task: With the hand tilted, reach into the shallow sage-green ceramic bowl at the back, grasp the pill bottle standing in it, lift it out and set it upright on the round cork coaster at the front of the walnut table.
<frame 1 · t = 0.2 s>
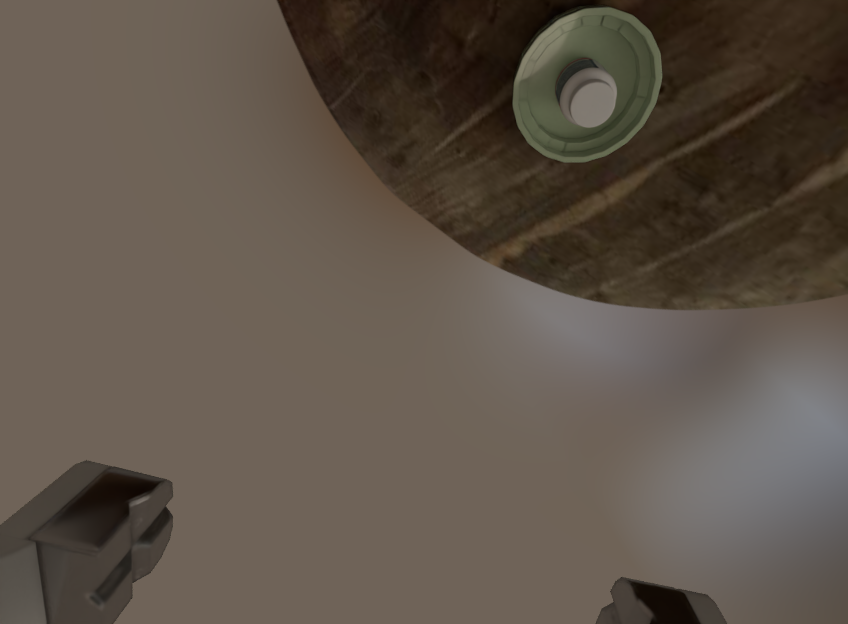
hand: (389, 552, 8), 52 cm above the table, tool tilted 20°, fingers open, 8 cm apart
bowl: (579, 84, 48), on the table
pill bottle: (579, 84, 48), resting on bowl
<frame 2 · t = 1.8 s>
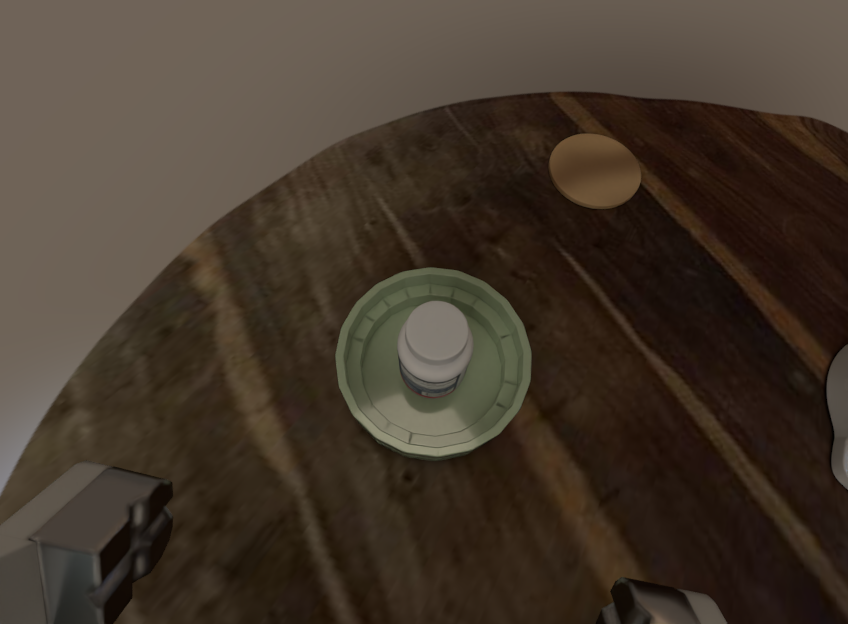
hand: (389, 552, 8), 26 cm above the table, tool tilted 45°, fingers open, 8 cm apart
coaster: (593, 171, 45), on the table
bowl: (431, 368, 36), on the table
pill bottle: (432, 368, 36), resting on bowl
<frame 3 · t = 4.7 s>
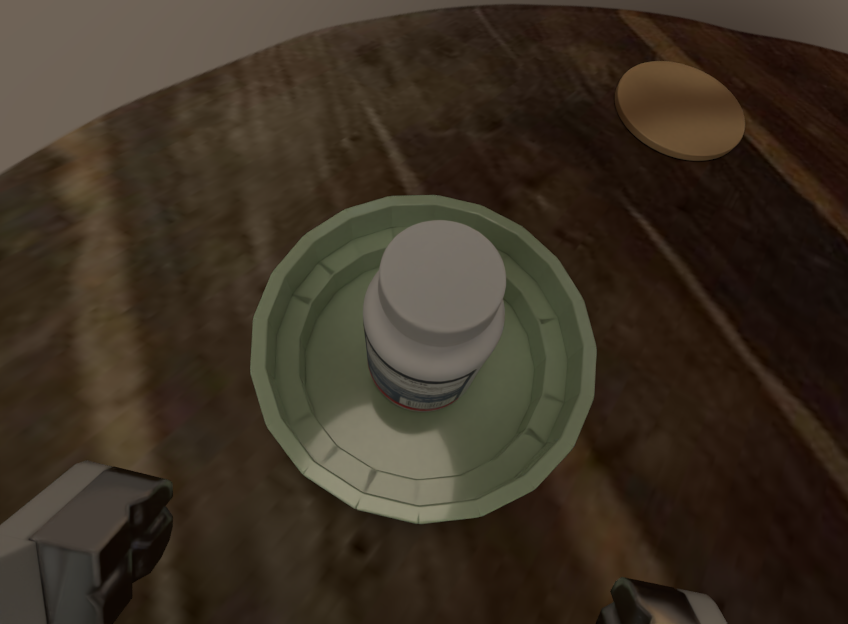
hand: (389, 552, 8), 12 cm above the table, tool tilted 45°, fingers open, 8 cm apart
coaster: (677, 111, 31), on the table
bowl: (420, 362, 22), on the table
pill bottle: (421, 361, 22), resting on bowl
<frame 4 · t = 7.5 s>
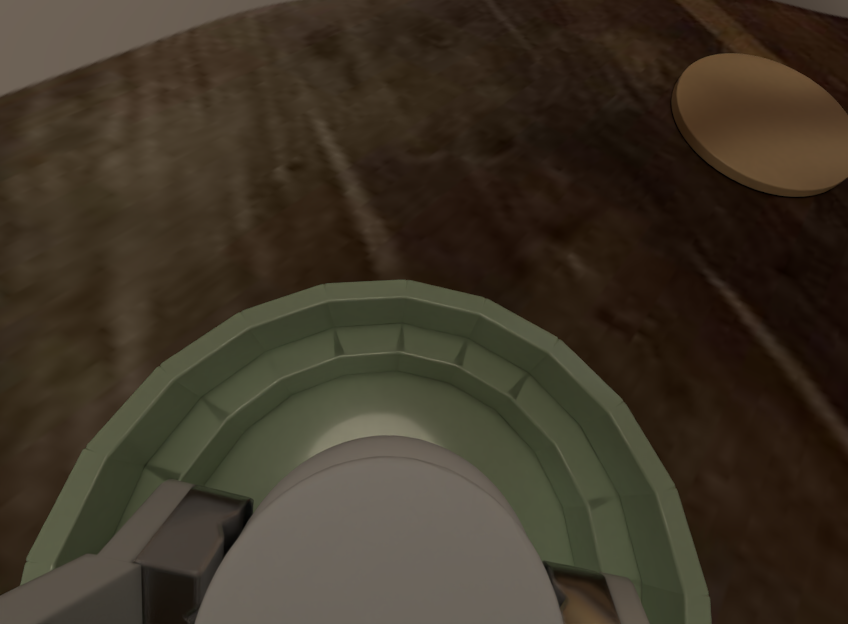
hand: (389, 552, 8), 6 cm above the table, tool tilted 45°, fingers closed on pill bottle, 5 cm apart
coaster: (759, 123, 22), on the table
bowl: (382, 561, 13), on the table
pill bottle: (382, 562, 13), resting on bowl, touching gripper
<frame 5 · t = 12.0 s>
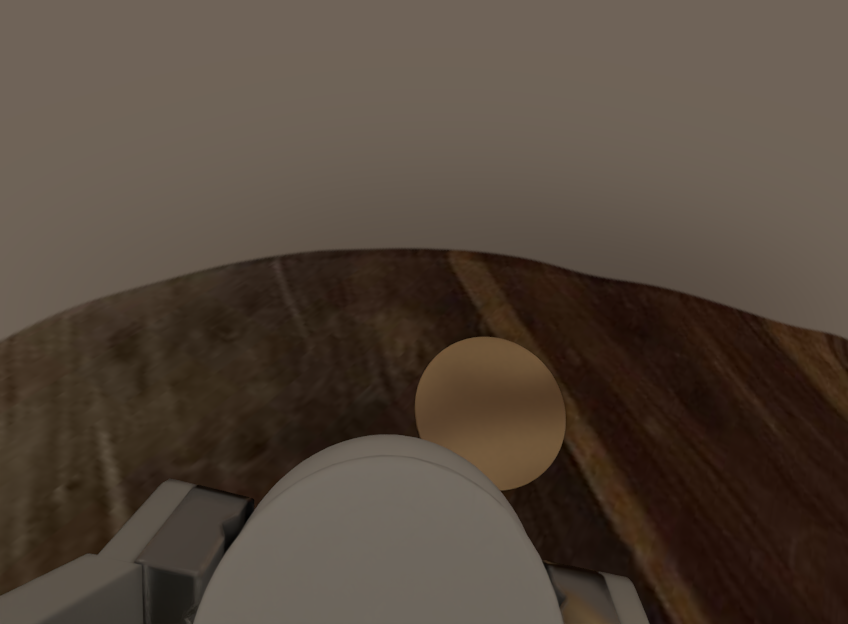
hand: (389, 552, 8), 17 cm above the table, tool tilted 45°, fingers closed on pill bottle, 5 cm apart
coaster: (489, 409, 27), on the table
pill bottle: (382, 561, 13), point 12 cm above the table, touching gripper
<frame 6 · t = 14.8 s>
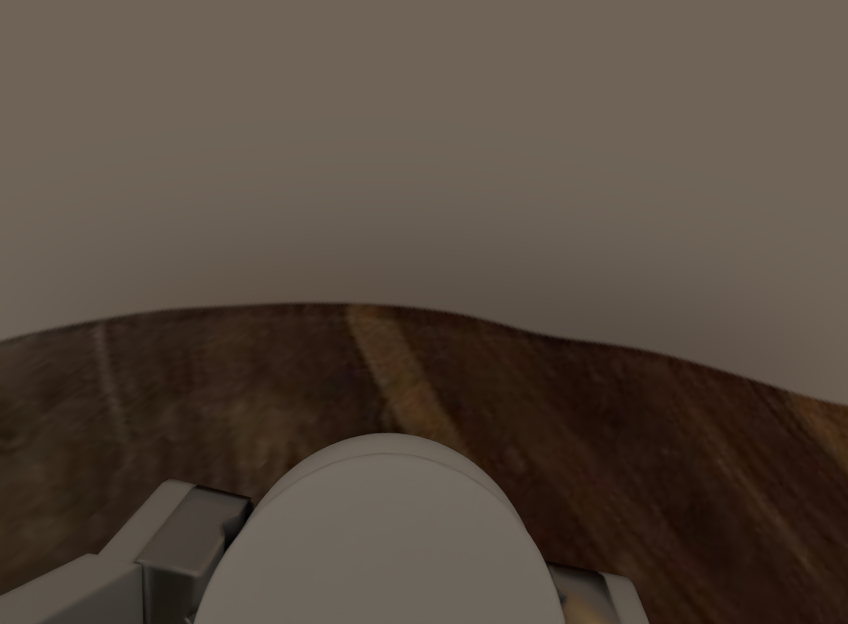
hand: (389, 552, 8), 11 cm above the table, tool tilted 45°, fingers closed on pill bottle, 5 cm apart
pill bottle: (382, 560, 13), point 6 cm above the table, touching gripper
when the fingers open (6 cm above the table, at t = 16.9 s): pill bottle stays where it is, resting on coaster.
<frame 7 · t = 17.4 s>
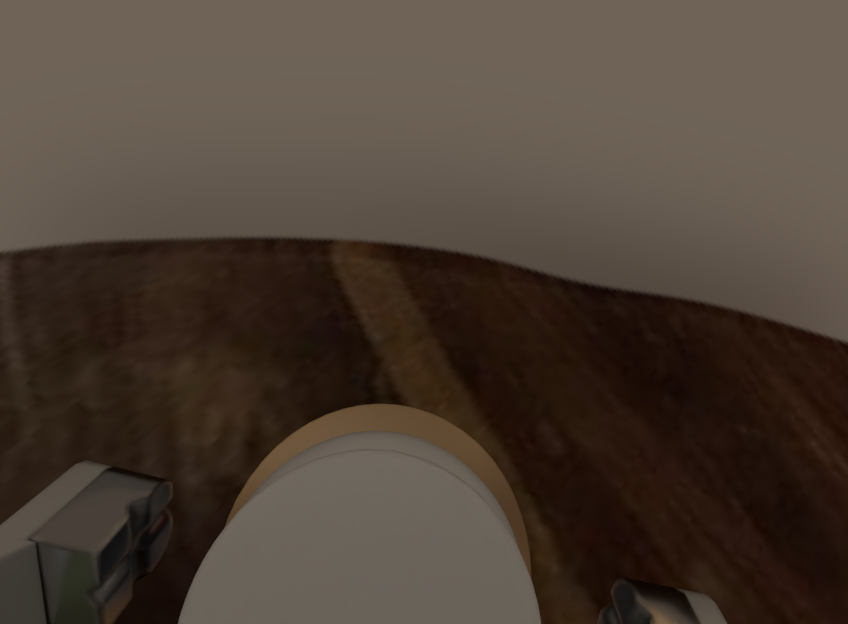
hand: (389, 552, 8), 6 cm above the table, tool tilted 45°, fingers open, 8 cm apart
coaster: (377, 558, 13), on the table
pill bottle: (374, 557, 13), resting on coaster
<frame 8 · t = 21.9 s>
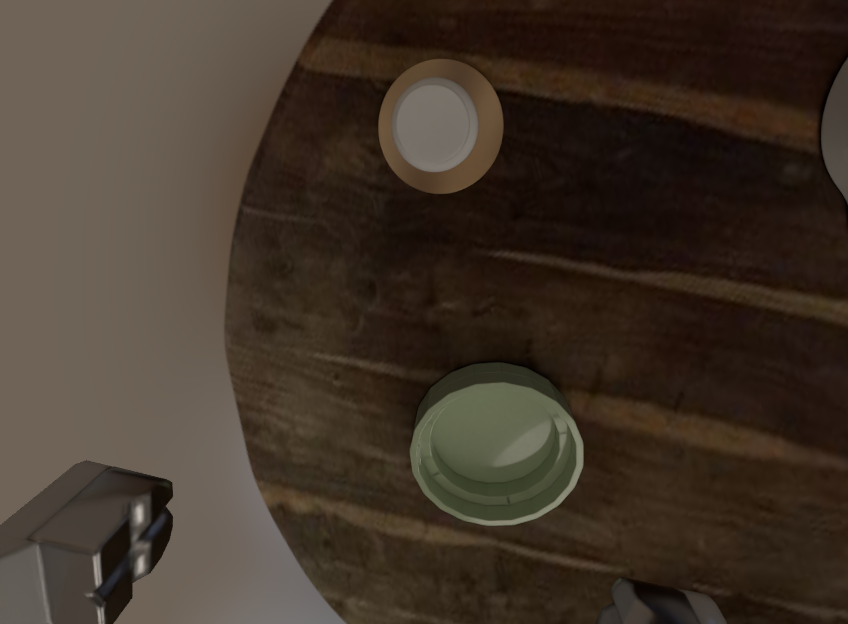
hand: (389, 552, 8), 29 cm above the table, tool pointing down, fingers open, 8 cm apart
coaster: (440, 129, 33), on the table
bowl: (492, 430, 41), on the table
pill bottle: (438, 130, 32), resting on coaster
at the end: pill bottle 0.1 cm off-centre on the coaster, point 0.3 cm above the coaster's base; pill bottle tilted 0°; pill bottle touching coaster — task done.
